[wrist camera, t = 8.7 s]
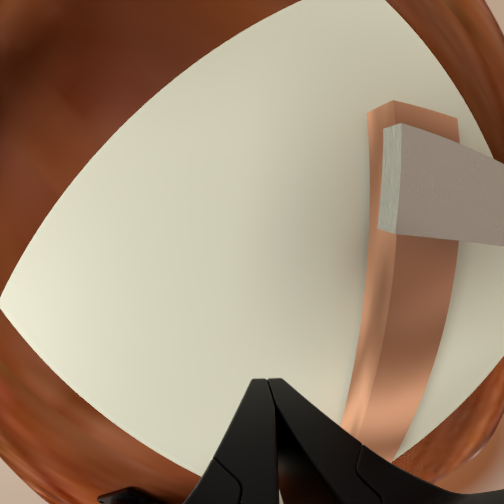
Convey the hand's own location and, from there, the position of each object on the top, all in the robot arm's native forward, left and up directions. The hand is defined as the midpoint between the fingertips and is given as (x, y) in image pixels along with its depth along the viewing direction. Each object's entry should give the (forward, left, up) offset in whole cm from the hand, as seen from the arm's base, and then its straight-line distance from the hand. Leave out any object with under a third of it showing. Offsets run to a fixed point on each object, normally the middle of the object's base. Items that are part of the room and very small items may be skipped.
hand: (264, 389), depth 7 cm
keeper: (+9, -1, -5) cm, 11 cm away
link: (+3, -6, -4) cm, 8 cm away
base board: (+3, -4, -5) cm, 7 cm away
